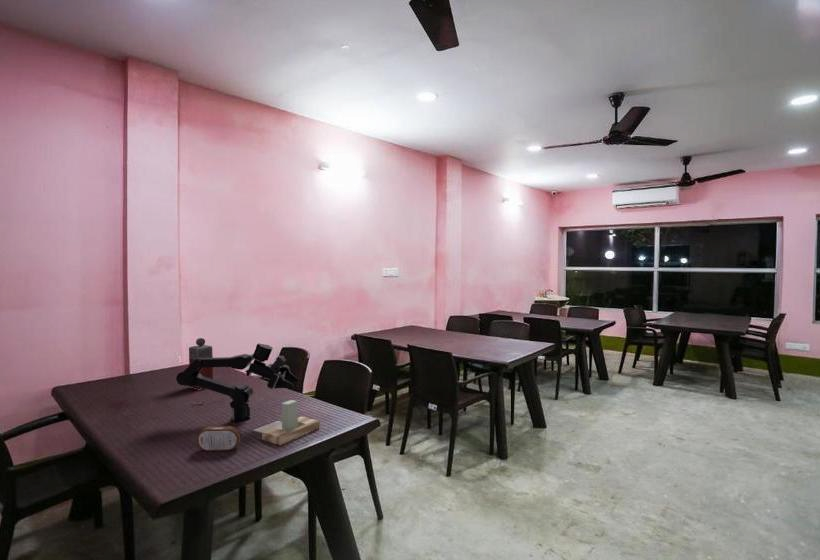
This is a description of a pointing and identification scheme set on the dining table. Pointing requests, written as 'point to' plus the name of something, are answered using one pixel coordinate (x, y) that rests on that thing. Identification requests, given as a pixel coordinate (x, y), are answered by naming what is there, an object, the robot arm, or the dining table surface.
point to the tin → (219, 438)
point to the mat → (270, 426)
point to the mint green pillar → (289, 415)
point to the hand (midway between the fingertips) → (296, 383)
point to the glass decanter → (200, 352)
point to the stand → (283, 436)
